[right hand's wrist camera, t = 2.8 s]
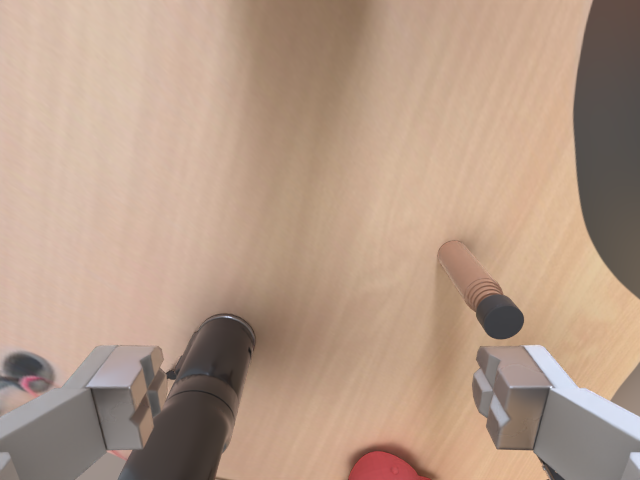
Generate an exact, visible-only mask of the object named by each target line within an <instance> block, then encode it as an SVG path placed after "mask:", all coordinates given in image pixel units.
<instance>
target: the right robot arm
mask: <svg viewBox="0 0 640 480" xmlns="http://www.w3.org/2000/svg"><path fill="white" fill-rule="evenodd" d="M163 360H164V358H163V353H162V349H161V348H160V347H159V346H137V345H120V346H119V345H100V346H97V347H95V348H94V350H93V351H92V352H91V353H90V354H89V356H88V357H87V358H86V359H85V360H84V361H83V363H82V364H81V365H80V366H79V367H78V369H77V370H76V371H75V372H74V373H73V374H72V376H71V377H70V378H69V379H68V380H67V382H66V383H65V384H64V385H63V386H62V387H61V388H54V389H52V390H50V391H48V392H46V393H45V394H43V395H41V396H39V397H37V398H35V399H33V400H31V401H29V402H27V403H26V404H24V405H22V406H20V407H18V408H16V409H14V410H12V411H10V412H9V413H7V414H5V415H3V416H1V417H0V480H75V479H76V478H78V477H79V476H80V475H81V474H82V473H83V472H84V471H86V470H87V469H88V468H89V467H90V466H91V465H93V464H94V463H95V462H96V461H97V460H98V459H99V458H101V457H102V456H103V455H104V454H105V453H106V452H107V451H106V450H135V449H143V448H144V446H145V444H146V442H147V440H148V438H149V436H150V434H151V432H152V430H153V428H154V424H153V418H154V417H155V416H157V415H158V414H159V413H161V411H162V409H163V406H164V404H165V401H166V396H167V391H168V382H167V375H166V373H165V372H164V371H163V370H162V369H161V368H160V366H161V364H162V362H163ZM476 360H477V362H478V364H479V366H480V368H479V369H478V370H477V371H476V372H475V373H474V375H473V383H472V388H473V397H474V401H475V404H476V407H477V409H478V411H479V413H481V414H482V415H483V416H485V417H486V418H487V424H486V428H487V430H488V432H489V434H490V436H491V438H492V440H493V442H494V444H495V446H496V448H497V449H504V450H534V451H533V452H534V453H535V454H536V455H537V456H538V457H540V458H541V459H542V460H543V461H544V462H545V463H546V464H548V465H549V466H550V467H551V468H552V469H553V470H555V471H556V472H557V473H558V474H559V475H560V476H561V477H563V478H564V479H565V480H640V417H639V416H637V415H635V414H633V413H631V412H629V411H628V410H626V409H624V408H622V407H620V406H618V405H616V404H614V403H612V402H611V401H609V400H607V399H605V398H603V397H601V396H599V395H597V394H595V393H594V392H592V391H590V390H588V389H586V388H578V386H577V385H576V384H575V383H574V382H573V380H572V379H571V378H570V377H569V376H568V374H567V373H566V372H565V371H564V370H563V369H562V367H561V366H560V365H559V364H558V363H557V361H556V360H555V359H554V358H553V357H552V356H551V354H550V353H549V352H548V351H547V350H546V348H545V347H543V346H541V345H520V346H480V348H479V350H478V352H477V358H476Z"/></svg>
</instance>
